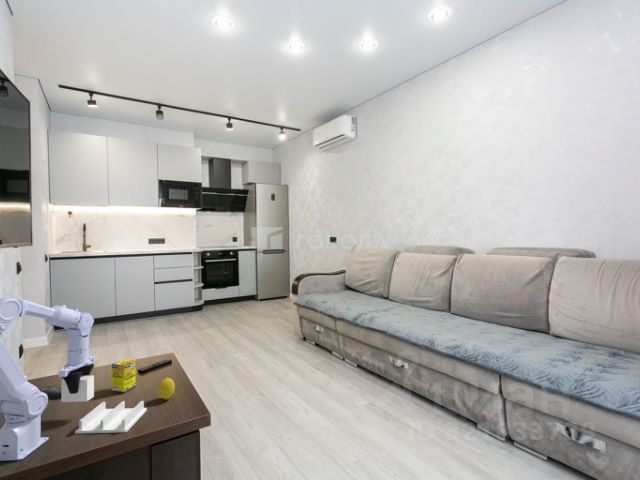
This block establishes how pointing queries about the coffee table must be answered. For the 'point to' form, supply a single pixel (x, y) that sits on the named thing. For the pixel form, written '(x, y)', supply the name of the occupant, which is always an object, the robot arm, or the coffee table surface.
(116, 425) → the dish rack
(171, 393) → the lemon
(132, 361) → the supplement box
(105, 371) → the coffee table surface
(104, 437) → the coffee table surface
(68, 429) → the coffee table surface
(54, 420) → the coffee table surface
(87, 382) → the cream rectangular prism
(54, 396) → the multiport hub
